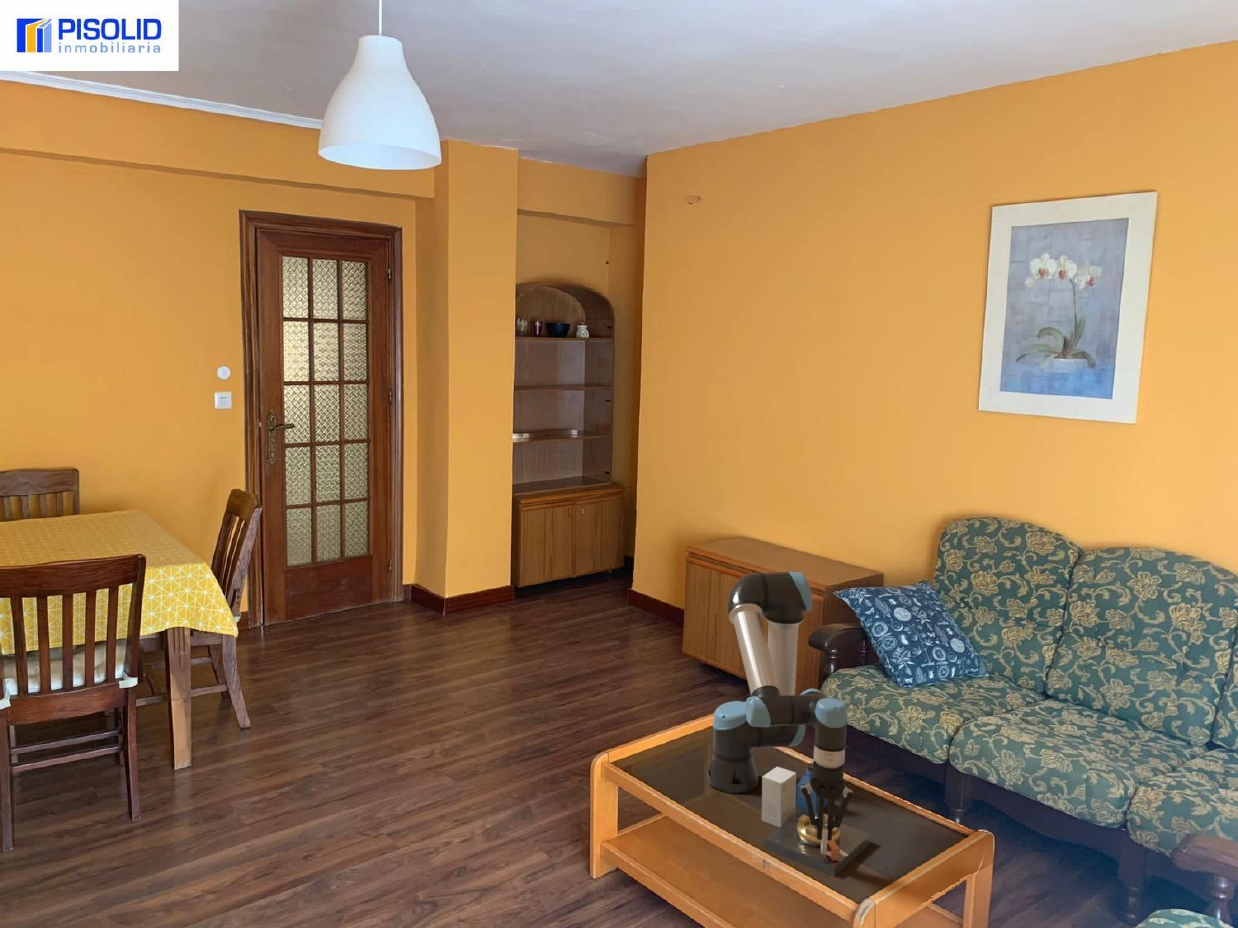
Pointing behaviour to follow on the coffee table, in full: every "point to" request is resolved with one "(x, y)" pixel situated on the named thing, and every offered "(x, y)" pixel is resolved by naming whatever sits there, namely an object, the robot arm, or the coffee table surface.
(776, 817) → the small box
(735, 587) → the robot arm
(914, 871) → the coffee table surface
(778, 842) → the flange plate
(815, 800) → the perfume bottle
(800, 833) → the gold tabbed disc
